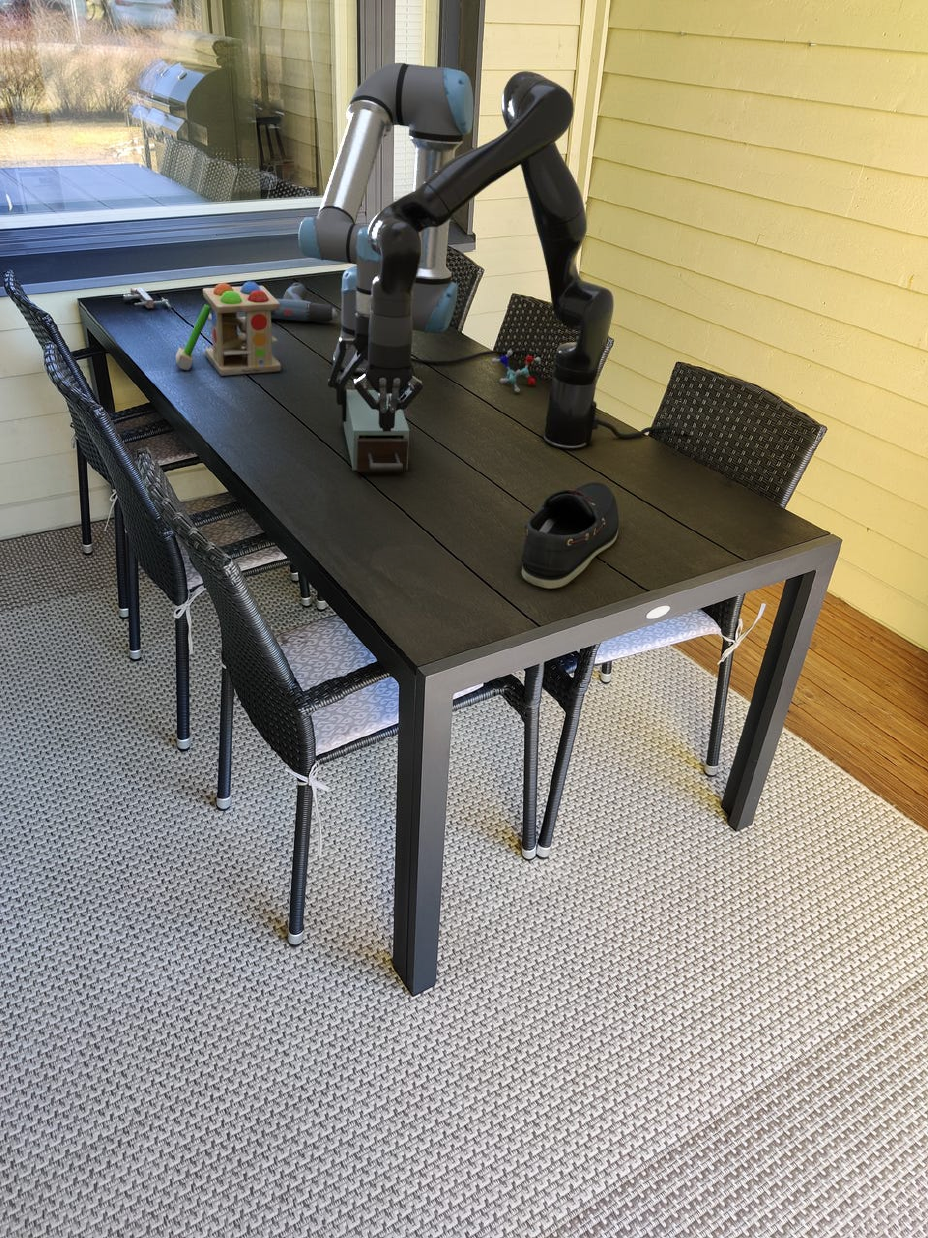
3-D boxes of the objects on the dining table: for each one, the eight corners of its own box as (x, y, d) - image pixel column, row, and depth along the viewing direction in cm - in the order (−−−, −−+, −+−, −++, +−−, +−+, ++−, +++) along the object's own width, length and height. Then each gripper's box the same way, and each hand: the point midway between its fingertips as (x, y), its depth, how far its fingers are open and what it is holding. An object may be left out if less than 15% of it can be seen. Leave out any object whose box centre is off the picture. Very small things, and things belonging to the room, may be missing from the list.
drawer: (410, 485, 185) (412, 454, 181) (360, 486, 183) (361, 455, 179) (393, 430, 205) (395, 401, 201) (348, 430, 203) (348, 401, 199)
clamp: (119, 288, 264) (156, 285, 268) (120, 296, 265) (157, 294, 269) (133, 305, 253) (172, 302, 258) (134, 313, 254) (173, 310, 259)
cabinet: (407, 470, 192) (409, 430, 188) (352, 470, 190) (353, 430, 186) (394, 427, 209) (395, 389, 204) (343, 427, 207) (344, 389, 202)
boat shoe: (641, 524, 182) (650, 473, 177) (559, 595, 158) (566, 538, 153) (580, 505, 188) (586, 455, 182) (491, 571, 164) (495, 515, 158)
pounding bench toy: (183, 379, 220) (176, 299, 210) (169, 357, 231) (162, 280, 221) (282, 371, 230) (280, 294, 220) (264, 350, 240) (262, 276, 230)
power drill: (344, 304, 276) (335, 327, 259) (277, 298, 275) (264, 321, 258) (344, 285, 273) (335, 306, 256) (277, 279, 272) (264, 300, 255)
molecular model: (536, 384, 226) (523, 342, 225) (499, 398, 230) (486, 357, 228) (548, 383, 237) (536, 343, 235) (513, 396, 240) (500, 357, 239)
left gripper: (315, 317, 185) (316, 426, 197) (436, 320, 190) (429, 426, 202) (313, 304, 191) (313, 411, 203) (430, 308, 196) (424, 412, 208)
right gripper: (354, 343, 166) (352, 438, 176) (431, 345, 169) (424, 438, 179) (350, 329, 172) (348, 421, 182) (424, 330, 175) (418, 421, 185)
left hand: (371, 419), depth 203 cm, fingers closed on cabinet, 11 cm apart
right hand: (386, 429), depth 180 cm, fingers closed
